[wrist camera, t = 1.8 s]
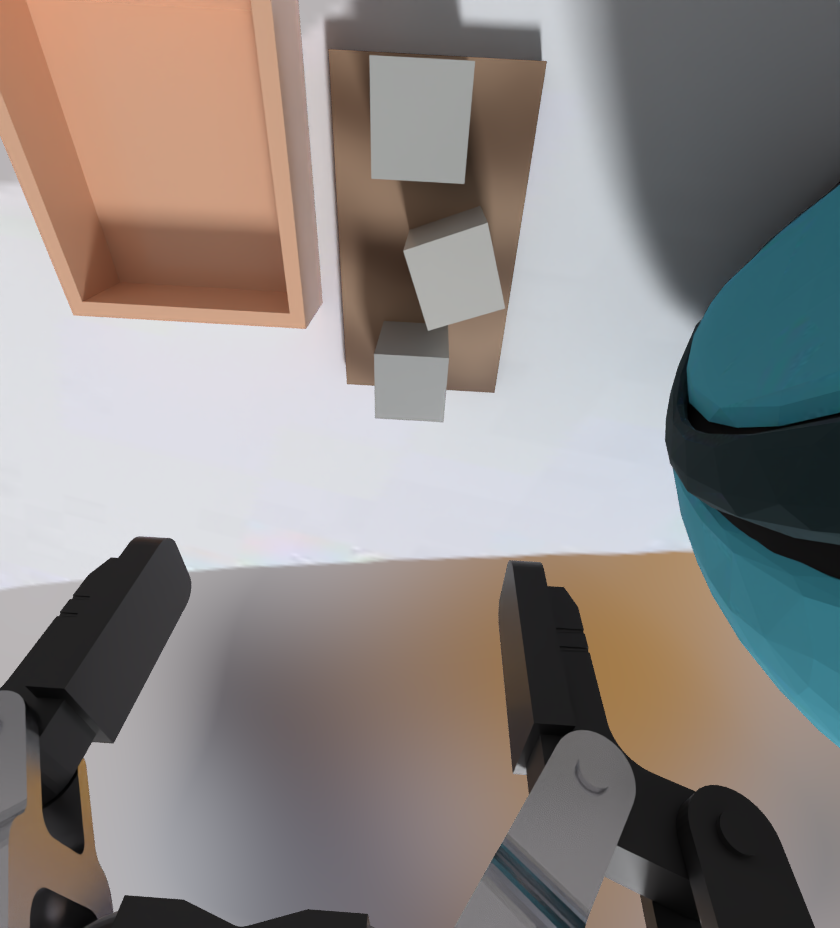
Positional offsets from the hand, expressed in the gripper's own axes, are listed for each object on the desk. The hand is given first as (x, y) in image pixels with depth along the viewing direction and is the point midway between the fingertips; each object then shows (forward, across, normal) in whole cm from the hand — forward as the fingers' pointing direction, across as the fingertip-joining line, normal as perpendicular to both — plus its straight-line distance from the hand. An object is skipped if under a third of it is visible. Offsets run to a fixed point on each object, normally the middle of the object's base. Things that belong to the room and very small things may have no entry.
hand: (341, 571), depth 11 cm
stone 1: (+21, -1, -8) cm, 23 cm away
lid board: (+22, -1, -2) cm, 22 cm away
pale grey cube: (+21, -3, -2) cm, 21 cm away
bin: (+22, +12, -6) cm, 26 cm away
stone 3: (+21, -1, +4) cm, 21 cm away
